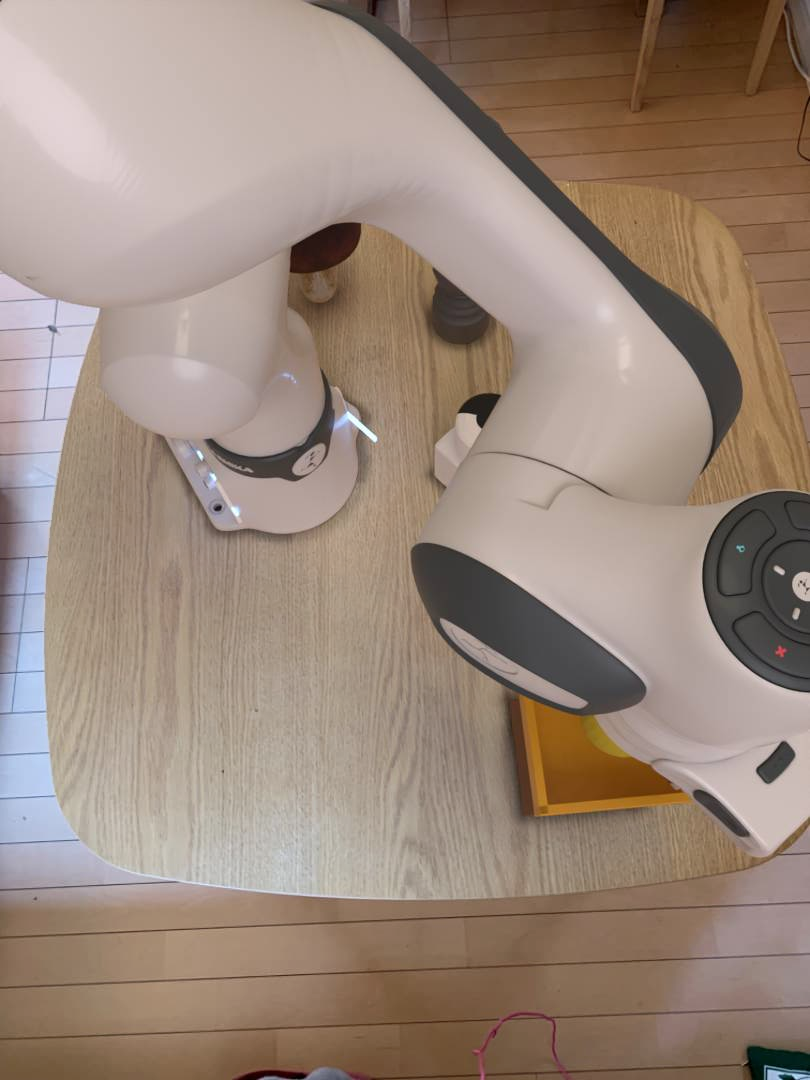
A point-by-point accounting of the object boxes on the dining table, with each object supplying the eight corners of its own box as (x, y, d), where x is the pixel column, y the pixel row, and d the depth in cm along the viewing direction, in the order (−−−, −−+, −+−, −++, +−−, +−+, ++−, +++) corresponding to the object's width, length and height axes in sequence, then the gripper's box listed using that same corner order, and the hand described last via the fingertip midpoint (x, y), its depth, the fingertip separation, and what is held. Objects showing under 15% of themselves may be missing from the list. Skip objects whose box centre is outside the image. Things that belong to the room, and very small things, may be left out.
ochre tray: (511, 824, 74) (540, 815, 54) (495, 696, 78) (517, 644, 58) (650, 811, 74) (729, 797, 54) (628, 684, 78) (694, 627, 58)
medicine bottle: (481, 431, 87) (488, 368, 76) (533, 475, 85) (548, 418, 74) (432, 475, 86) (432, 419, 75) (484, 522, 84) (491, 471, 73)
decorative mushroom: (356, 244, 96) (343, 140, 82) (380, 323, 92) (370, 228, 78) (261, 266, 95) (232, 165, 81) (282, 347, 92) (254, 256, 77)
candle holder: (453, 286, 94) (460, 97, 70) (500, 314, 92) (523, 130, 69) (420, 326, 92) (416, 146, 68) (467, 354, 91) (480, 180, 67)
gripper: (489, 573, 45) (477, 635, 58) (794, 881, 40) (705, 873, 53) (572, 499, 47) (542, 575, 60) (879, 786, 41) (771, 802, 54)
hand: (620, 717), depth 56 cm, fingers open, 8 cm apart
